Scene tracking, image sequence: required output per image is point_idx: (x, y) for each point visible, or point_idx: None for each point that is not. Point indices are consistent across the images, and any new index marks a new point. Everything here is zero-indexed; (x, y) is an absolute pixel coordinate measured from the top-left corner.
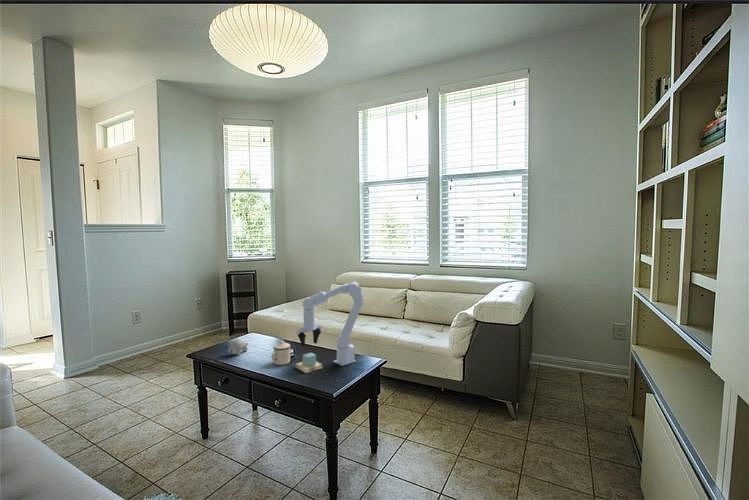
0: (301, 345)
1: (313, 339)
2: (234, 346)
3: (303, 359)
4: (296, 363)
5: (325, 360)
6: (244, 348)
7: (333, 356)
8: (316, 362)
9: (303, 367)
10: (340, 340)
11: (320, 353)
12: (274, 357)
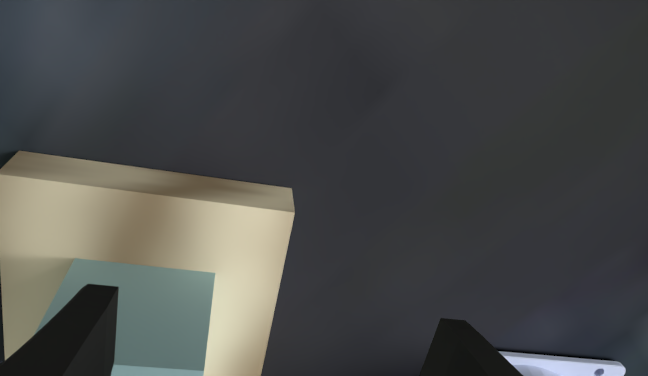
0: (78, 292)
1: (473, 363)
2: None
3: None
4: (12, 176)
5: (444, 256)
6: None
7: (600, 235)
8: (244, 336)
9: (16, 342)
10: None
11: (635, 20)
12: None
